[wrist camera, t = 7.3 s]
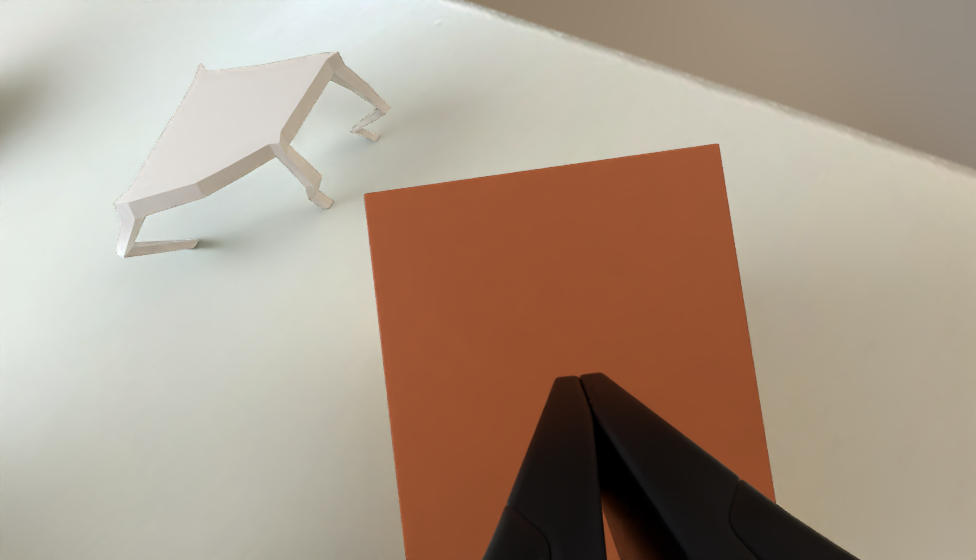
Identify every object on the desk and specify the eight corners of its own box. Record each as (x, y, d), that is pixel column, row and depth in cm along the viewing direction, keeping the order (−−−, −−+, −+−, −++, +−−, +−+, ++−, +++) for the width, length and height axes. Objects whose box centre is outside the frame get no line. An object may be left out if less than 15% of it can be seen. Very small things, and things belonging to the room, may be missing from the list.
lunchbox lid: (371, 199, 13) (363, 193, 12) (708, 151, 12) (719, 142, 12) (426, 675, 12) (421, 698, 11) (785, 642, 12) (802, 663, 11)
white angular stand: (284, 71, 27) (232, -11, 22) (408, 136, 25) (378, 59, 20) (121, 247, 24) (22, 194, 19) (245, 338, 22) (166, 303, 17)
